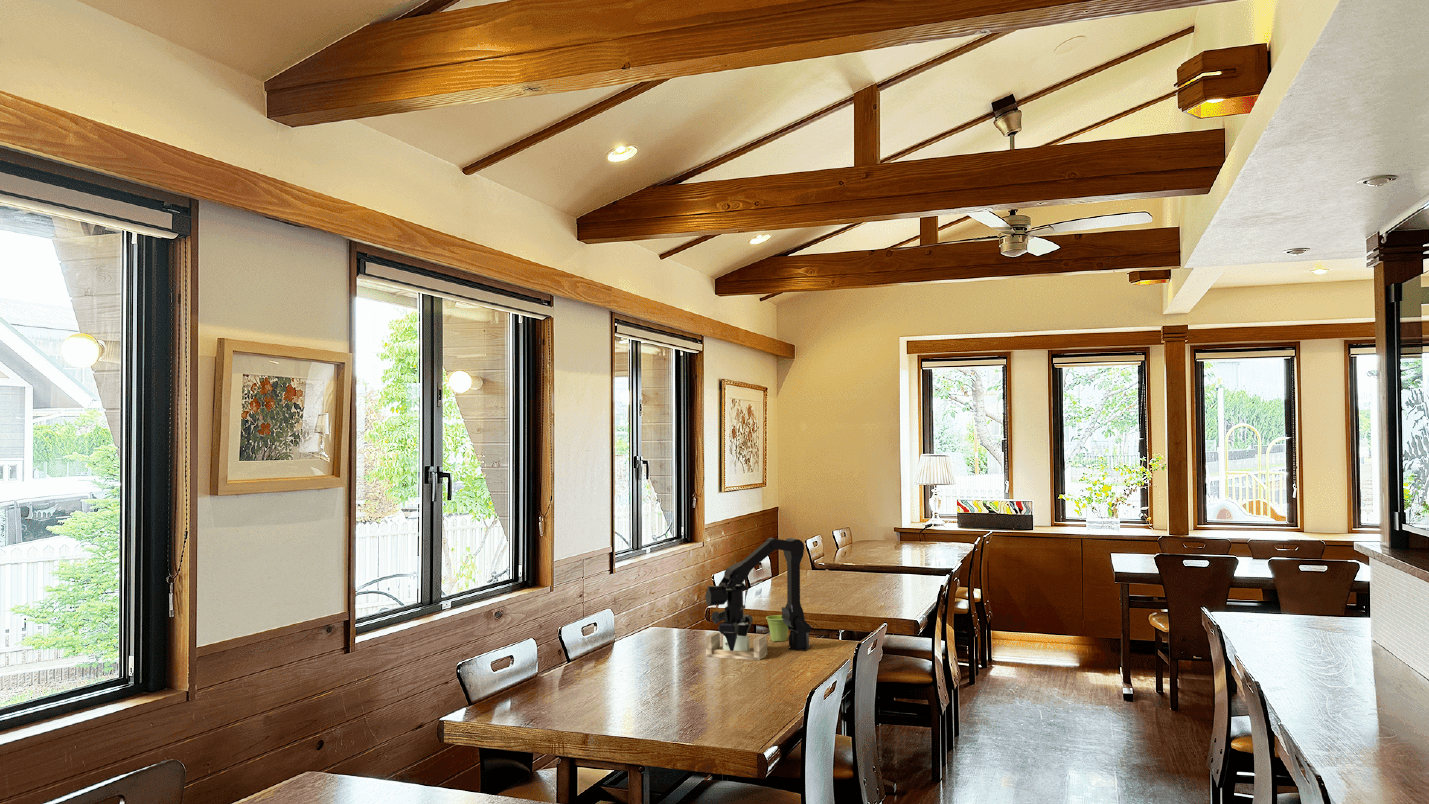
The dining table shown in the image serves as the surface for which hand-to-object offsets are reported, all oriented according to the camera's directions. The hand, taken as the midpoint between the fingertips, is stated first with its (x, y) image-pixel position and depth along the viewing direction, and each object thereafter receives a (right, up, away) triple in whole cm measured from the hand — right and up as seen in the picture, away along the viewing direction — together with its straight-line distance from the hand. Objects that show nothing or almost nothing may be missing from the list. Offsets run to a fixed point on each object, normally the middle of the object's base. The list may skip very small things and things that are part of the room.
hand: (736, 647), depth 319 cm
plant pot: (+17, -4, +24) cm, 30 cm away
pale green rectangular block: (0, -2, 0) cm, 2 cm away
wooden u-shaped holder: (0, -3, 0) cm, 3 cm away
